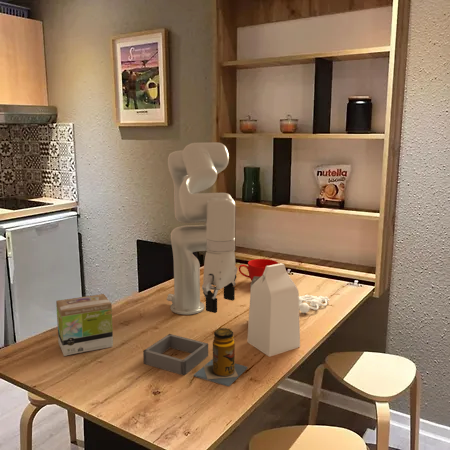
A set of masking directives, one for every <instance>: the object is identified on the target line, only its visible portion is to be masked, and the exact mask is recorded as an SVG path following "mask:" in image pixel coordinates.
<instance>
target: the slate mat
mask: <svg viewBox="0 0 450 450" xmlns="http://www.w3.org/2000/svg"><path fill="white" fill-rule="evenodd" d="M206 365H208V366H210V365H213V358H212V359H210V360H209V361H208V362H207V363H206V364H204V365H203V366H202V367H201V368H200V369H198V371H196V372H195V373H193V377H196V378H199V379H202V380H206V381H210V382H213V383H216V384H219V385H223V386H225V387H230V386H231V385H232V384H233V383H234V382H235V381H236V380H237V379H238V378H239V377H240V376H241V375H242V374H243V373H244V372H246V370H247V369H248V366H245V365H242V364H239V363H235V367H234V368H235V370H236V372H237V374H238V376H237V377H229V378H217V379H207V376H206V373H205V370H204V366H206Z"/></svg>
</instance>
